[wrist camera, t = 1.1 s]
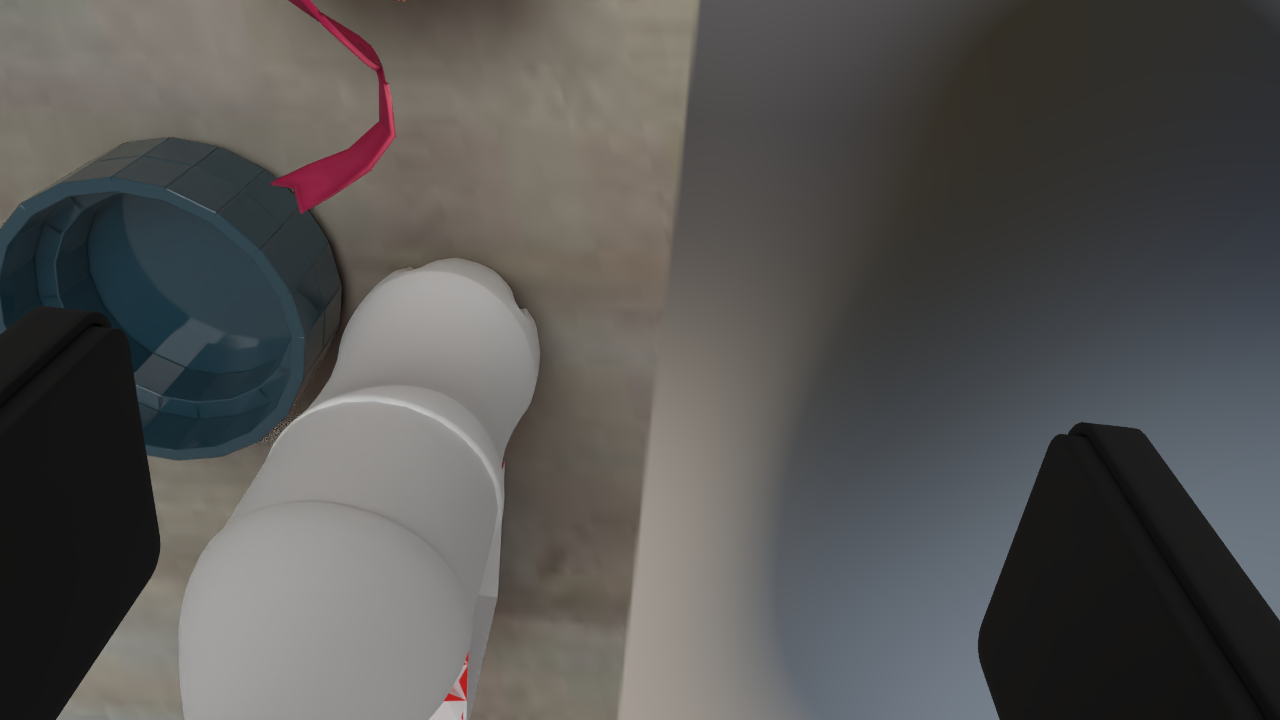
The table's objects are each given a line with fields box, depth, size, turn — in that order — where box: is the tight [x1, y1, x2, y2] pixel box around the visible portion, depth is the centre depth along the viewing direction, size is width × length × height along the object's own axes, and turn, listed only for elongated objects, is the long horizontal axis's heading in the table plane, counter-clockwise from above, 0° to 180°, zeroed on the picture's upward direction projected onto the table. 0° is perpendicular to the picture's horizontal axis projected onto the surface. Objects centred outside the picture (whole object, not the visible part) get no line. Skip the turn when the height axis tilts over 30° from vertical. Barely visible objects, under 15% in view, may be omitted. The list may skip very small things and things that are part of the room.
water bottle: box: [178, 258, 540, 720], centre depth 29 cm, size 7×7×25 cm
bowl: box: [0, 137, 342, 460], centre depth 37 cm, size 11×11×5 cm
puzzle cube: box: [429, 461, 505, 720], centre depth 42 cm, size 8×8×8 cm
